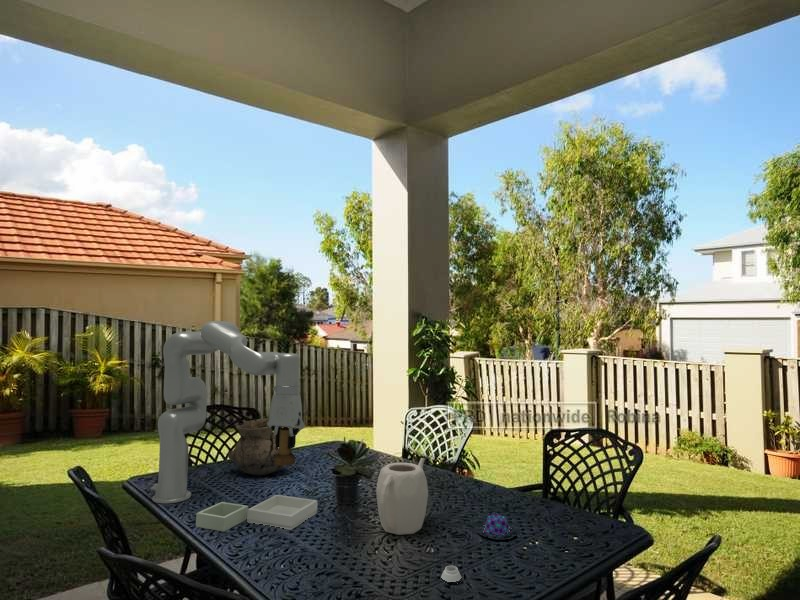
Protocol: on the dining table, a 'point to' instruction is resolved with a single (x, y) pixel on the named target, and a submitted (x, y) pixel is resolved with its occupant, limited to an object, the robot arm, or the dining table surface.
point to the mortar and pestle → (284, 449)
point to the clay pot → (255, 448)
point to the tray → (282, 511)
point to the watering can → (402, 497)
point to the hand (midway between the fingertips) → (285, 446)
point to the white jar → (451, 574)
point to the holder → (221, 516)
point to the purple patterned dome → (496, 525)
